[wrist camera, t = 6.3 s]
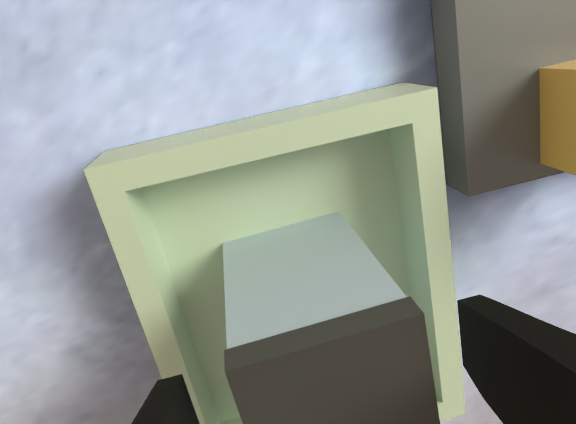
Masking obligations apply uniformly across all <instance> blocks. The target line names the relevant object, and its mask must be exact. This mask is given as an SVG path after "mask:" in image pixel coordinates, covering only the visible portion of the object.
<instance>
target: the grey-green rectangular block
mask: <svg viewBox="0 0 576 424" xmlns="http://www.w3.org/2000/svg"><path fill="white" fill-rule="evenodd" d="M223 266H224V290H225V315H226V339H227V349H226V350H224V366H225V374H226V377H227V380H228V383H229V386H230V389H231V391H232V394H233V397H234V400H235V403H236V406H237V409H238V412H239V415H240V418H241V420H242V423H243V424H440V419H439V412H438V405H437V399H436V392H435V385H434V378H433V371H432V364H431V357H430V351H429V344H428V337H427V330H426V323H425V316H424V313H423V311H422V310H421V309H420V308H419V306H418V305H417V304H416V303H415V302H414V300H413V299H412V298H411V297H410V296H409V297H406V295H405V294H404V293H403V292H402V290H401V289H400V288H399V287H398V285H397V284H396V283H395V281H394V280H393V279H392V278H391V276H390V275H389V274H388V273H387V271H386V270H385V269H384V268H383V266H382V265H381V264H380V263H379V261H378V260H377V259H376V258H375V256H374V255H373V254H372V253H371V251H370V250H369V249H368V248H367V246H366V245H365V244H364V242H363V241H362V240H361V239H360V237H359V236H358V235H357V234H356V232H355V231H354V230H353V229H352V227H351V226H350V225H349V224H348V222H347V221H346V220H345V219H344V217H343V216H342V215H341V214H340V212H339V211H338V212H334V213H330V214H327V215H323V216H319V217H316V218H312V219H308V220H305V221H301V222H297V223H294V224H290V225H286V226H283V227H279V228H275V229H272V230H268V231H265V232H261V233H257V234H254V235H250V236H246V237H243V238H239V239H235V240H232V241H228V242H224V243H223Z"/></svg>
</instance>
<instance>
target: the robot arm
mask: <svg viewBox="0 0 576 424" xmlns="http://www.w3.org/2000/svg"><path fill="white" fill-rule="evenodd" d="M458 313H459V324H460V336H461V347H462V359H463V366H464V367H465V369H466V371H467V372H468V374H469V376H470V377H471V379H472V381H473V382H474V384H475V386H476V387H477V389H478V390H479V392H480V393H481V395H482V397H483V398H484V400H485V401H486V402H487V403H488V405H489V406H490V407H491V409H492V410H493V411H494V412H495V414H496V415H497V416H498V417H499V419H500V420H501V421H502V423H503V424H576V334H574V333H571V332H569V331H566V330H564V329H561V328H559V327H556V326H554V325H551V324H549V323H546V322H544V321H542V320H539V319H537V318H535V317H532V316H530V315H528V314H525V313H523V312H521V311H518V310H516V309H514V308H511V307H509V306H507V305H504V304H502V303H500V302H497V301H495V300H493V299H490V298H487V297H485V296H482V295H477V296H473V297H469V298H465V299H462V300H458ZM132 424H200V423H199V420H198V418H197V415H196V412H195V409H194V406H193V403H192V401H191V398H190V395H189V392H188V389H187V386H186V384H185V381H184V378H183V375H182V374H180V375H176V376H172V377H169V378H165V379H161V380H158V381H157V382H156V384H155V386H154V387H153V389H152V390H151V392H150V394H149V395H148V397H147V399H146V400H145V402H144V404H143V405H142V407H141V409H140V410H139V412H138V414H137V415H136V417H135V419H134V420H133V422H132Z"/></svg>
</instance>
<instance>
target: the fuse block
mask: <svg viewBox="0 0 576 424" xmlns="http://www.w3.org/2000/svg"><path fill="white" fill-rule="evenodd" d="M431 9H432V21H433V32H434V44H435V55H436V67H437V78H438V90H439V101H440V113H441V124H442V136H443V148H444V159H445V171H446V182H447V185H449V186H451V187H453V188H455V189H456V190H458V191H460V192H462V193H464V194H465V195H467V196H472V195H476V194H480V193H484V192H488V191H492V190H496V189H499V188H503V187H507V186H511V185H515V184H519V183H523V182H527V181H531V180H535V179H539V178H543V177H547V176H551V175H555V174H559V173H563V172H568V173H571V174H574V175H576V0H431Z"/></svg>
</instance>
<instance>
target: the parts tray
mask: <svg viewBox="0 0 576 424" xmlns="http://www.w3.org/2000/svg"><path fill="white" fill-rule="evenodd" d="M84 173H85V176H86V178H87V181H88V184H89V186H90V189H91V192H92V194H93V197H94V200H95V202H96V205H97V208H98V210H99V213H100V216H101V218H102V221H103V224H104V226H105V229H106V232H107V234H108V237H109V240H110V242H111V245H112V248H113V250H114V253H115V256H116V258H117V261H118V264H119V266H120V269H121V272H122V274H123V277H124V280H125V282H126V285H127V288H128V290H129V293H130V296H131V298H132V301H133V304H134V306H135V309H136V312H137V314H138V317H139V320H140V322H141V325H142V328H143V330H144V333H145V336H146V338H147V341H148V344H149V346H150V349H151V352H152V354H153V357H154V360H155V362H156V365H157V368H158V370H159V373H160V376H161V378H162V379H165V378H169V377H172V376H176V375H180V374H182V375H183V378H184V381H185V384H186V386H187V389H188V392H189V395H190V398H191V401H192V403H193V406H194V409H195V412H196V415H197V418H198V420H199V423H200V424H243V423H242V420H241V418H240V415H239V412H238V409H237V406H236V403H235V400H234V397H233V394H232V391H231V389H230V386H229V383H228V380H227V377H226V374H225V366H224V350H226V349H227V339H226V315H225V290H224V266H223V243H224V242H228V241H232V240H235V239H239V238H243V237H246V236H250V235H254V234H257V233H261V232H265V231H268V230H272V229H275V228H279V227H283V226H286V225H290V224H294V223H297V222H301V221H305V220H308V219H312V218H316V217H319V216H323V215H327V214H330V213H334V212H338V211H339V212H340V214H341V215H342V216H343V217H344V219H345V220H346V221H347V222H348V224H349V225H350V226H351V227H352V229H353V230H354V231H355V232H356V234H357V235H358V236H359V237H360V239H361V240H362V241H363V242H364V244H365V245H366V246H367V248H368V249H369V250H370V251H371V253H372V254H373V255H374V256H375V258H376V259H377V260H378V261H379V263H380V264H381V265H382V266H383V268H384V269H385V270H386V271H387V273H388V274H389V275H390V276H391V278H392V279H393V280H394V281H395V283H396V284H397V285H398V287H399V288H400V289H401V290H402V292H403V293H404V294H405V295H406V297H409V296H410V297H411V298H412V299H413V300H414V302H415V303H416V304H417V305H418V306H419V308H420V309H421V310H422V311H423V313H424V316H425V323H426V330H427V337H428V344H429V351H430V357H431V364H432V371H433V378H434V385H435V392H436V399H437V405H438V412H439V419H440V421H443V420H447V419H450V418H454V417H457V416H461V415H464V414H466V411H465V399H464V388H463V376H462V365H461V354H460V342H459V331H458V319H457V308H456V296H455V285H454V274H453V262H452V251H451V239H450V228H449V216H448V205H447V194H446V182H445V171H444V159H443V148H442V136H441V125H440V114H439V102H438V91H437V87H431V86H424V85H417V84H410V83H403V82H401V83H397V84H393V85H388V86H384V87H380V88H375V89H371V90H367V91H362V92H358V93H354V94H349V95H345V96H341V97H336V98H332V99H328V100H323V101H319V102H315V103H310V104H306V105H301V106H297V107H293V108H288V109H284V110H280V111H275V112H271V113H267V114H262V115H258V116H254V117H249V118H245V119H241V120H236V121H232V122H228V123H223V124H219V125H215V126H210V127H206V128H202V129H197V130H193V131H189V132H184V133H180V134H176V135H171V136H167V137H163V138H158V139H154V140H150V141H145V142H141V143H137V144H132V145H128V146H124V147H119V148H115V149H111V150H106V151H104V152H103V153H102V154H101V155H100V156H99V157H97V158H96V159H95V160H94V161H93V162H92V163H91V164H89V165H88V166H87V167H86V168H85V169H84Z"/></svg>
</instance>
